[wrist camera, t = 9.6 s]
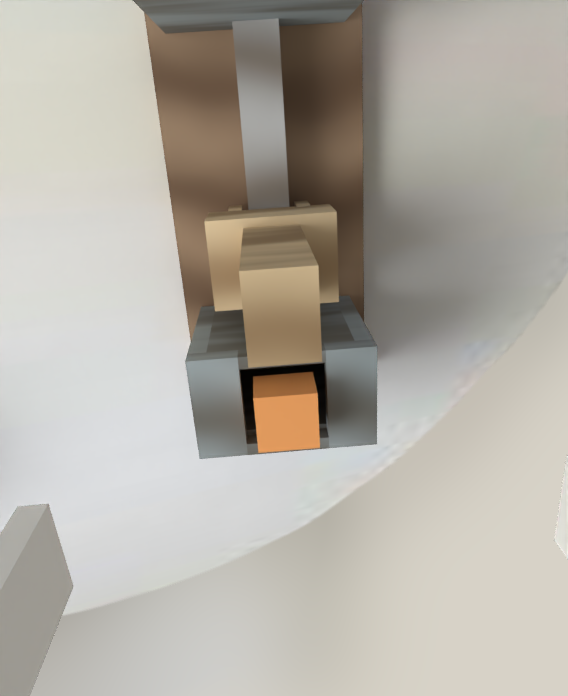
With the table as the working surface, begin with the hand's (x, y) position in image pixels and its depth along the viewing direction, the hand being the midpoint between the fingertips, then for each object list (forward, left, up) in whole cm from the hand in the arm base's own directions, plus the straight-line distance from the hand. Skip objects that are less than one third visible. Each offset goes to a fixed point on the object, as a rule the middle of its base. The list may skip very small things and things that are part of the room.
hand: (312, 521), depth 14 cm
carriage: (-2, 0, -23) cm, 23 cm away
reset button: (+5, 0, -15) cm, 16 cm away
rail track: (-5, 0, -25) cm, 26 cm away
